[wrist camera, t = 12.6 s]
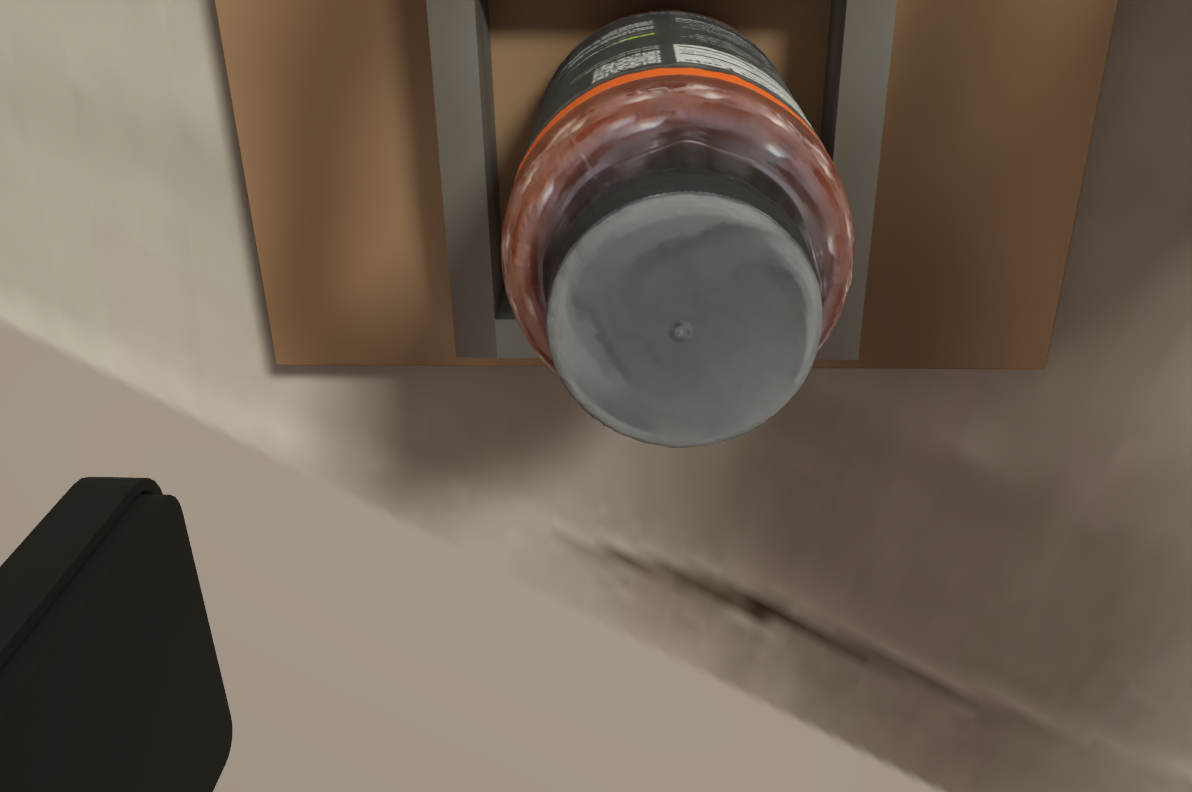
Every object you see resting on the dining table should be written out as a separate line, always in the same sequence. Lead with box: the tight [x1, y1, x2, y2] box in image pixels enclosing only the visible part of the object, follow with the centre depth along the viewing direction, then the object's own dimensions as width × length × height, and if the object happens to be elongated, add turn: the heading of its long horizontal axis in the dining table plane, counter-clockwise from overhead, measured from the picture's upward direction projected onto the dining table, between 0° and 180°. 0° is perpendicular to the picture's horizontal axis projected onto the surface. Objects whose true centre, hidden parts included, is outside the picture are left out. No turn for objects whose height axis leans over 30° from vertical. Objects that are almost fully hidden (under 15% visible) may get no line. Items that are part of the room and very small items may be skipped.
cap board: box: [215, 0, 1118, 369], centre depth 25 cm, size 20×12×3 cm, turn 91°
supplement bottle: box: [501, 9, 855, 447], centre depth 20 cm, size 6×6×11 cm
